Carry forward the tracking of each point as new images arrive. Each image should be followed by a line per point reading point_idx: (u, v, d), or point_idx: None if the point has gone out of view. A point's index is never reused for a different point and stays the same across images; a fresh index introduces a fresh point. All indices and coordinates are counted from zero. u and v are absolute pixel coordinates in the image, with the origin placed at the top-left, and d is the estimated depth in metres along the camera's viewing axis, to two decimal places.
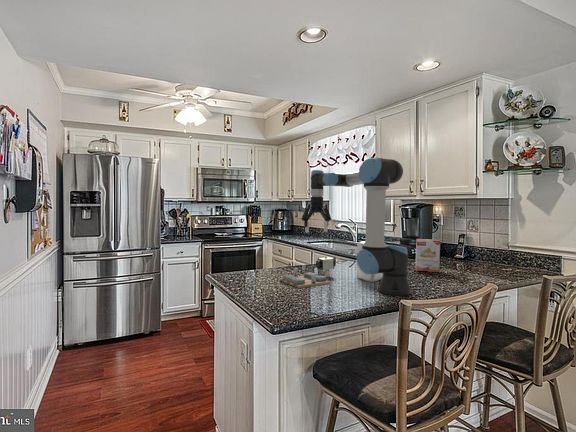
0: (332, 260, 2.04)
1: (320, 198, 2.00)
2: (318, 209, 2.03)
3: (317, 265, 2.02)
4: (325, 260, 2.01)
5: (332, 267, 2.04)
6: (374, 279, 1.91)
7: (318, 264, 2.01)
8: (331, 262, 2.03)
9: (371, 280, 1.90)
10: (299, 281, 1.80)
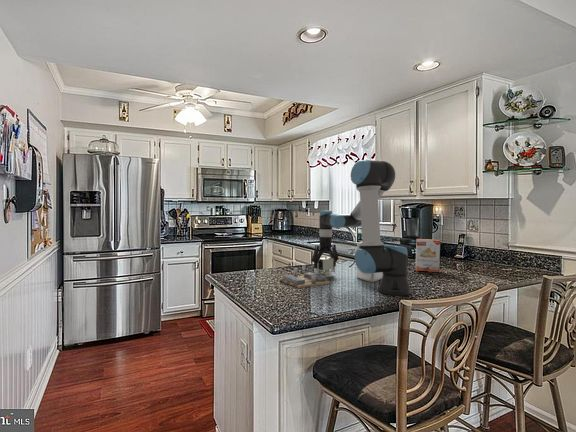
0: (332, 260, 2.04)
1: (329, 238, 2.01)
2: (327, 249, 2.04)
3: None
4: (325, 260, 2.01)
5: (332, 267, 2.04)
6: (374, 279, 1.91)
7: None
8: (331, 262, 2.03)
9: (371, 280, 1.90)
10: (299, 281, 1.80)
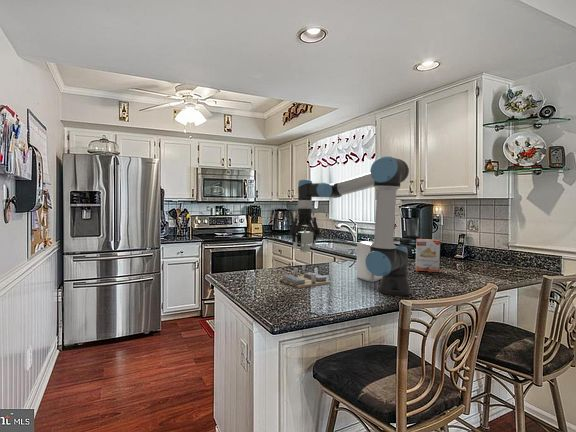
0: (312, 234, 1.88)
1: (308, 210, 1.85)
2: (306, 222, 1.88)
3: None
4: (304, 233, 1.86)
5: (312, 241, 1.89)
6: (374, 279, 1.91)
7: None
8: (311, 236, 1.88)
9: (371, 280, 1.90)
10: (299, 281, 1.80)
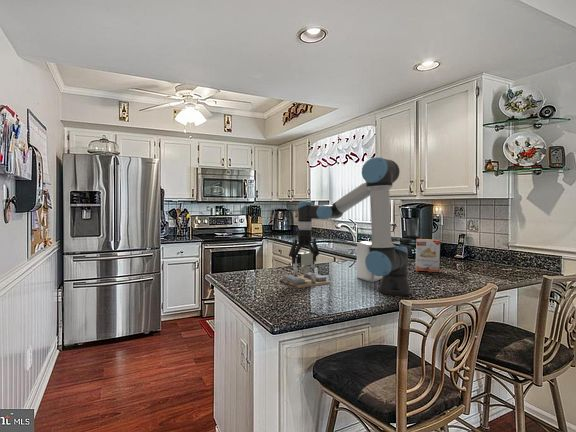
0: (311, 255, 1.89)
1: (308, 231, 1.86)
2: (306, 243, 1.89)
3: None
4: (304, 255, 1.86)
5: (311, 262, 1.89)
6: (374, 279, 1.91)
7: None
8: (310, 257, 1.89)
9: (371, 280, 1.90)
10: (299, 281, 1.80)
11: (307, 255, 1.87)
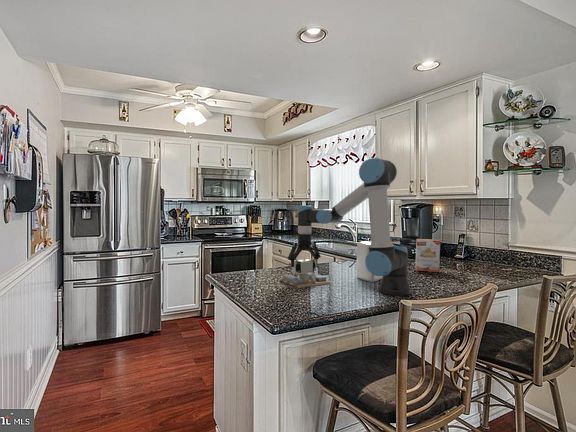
0: (311, 262, 1.89)
1: (308, 236, 1.86)
2: (306, 247, 1.89)
3: None
4: (303, 262, 1.86)
5: (311, 270, 1.89)
6: (374, 279, 1.91)
7: (296, 267, 1.86)
8: (310, 264, 1.88)
9: (371, 280, 1.90)
10: (299, 281, 1.80)
11: (307, 262, 1.87)
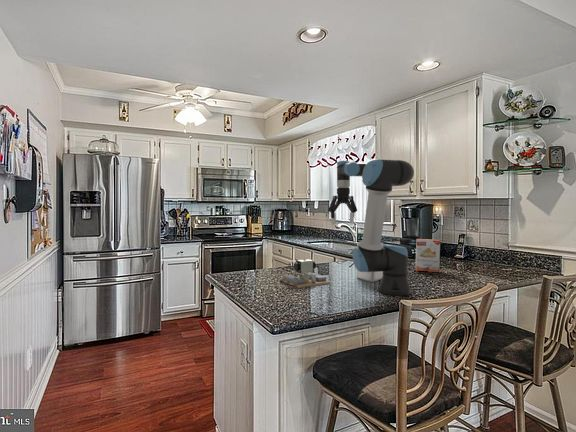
0: (311, 262, 1.89)
1: (347, 189, 1.99)
2: (344, 200, 2.02)
3: (295, 268, 1.87)
4: (303, 262, 1.86)
5: (311, 270, 1.89)
6: (374, 279, 1.91)
7: (296, 266, 1.86)
8: (310, 264, 1.88)
9: (371, 280, 1.90)
10: (299, 281, 1.80)
11: (307, 262, 1.87)
